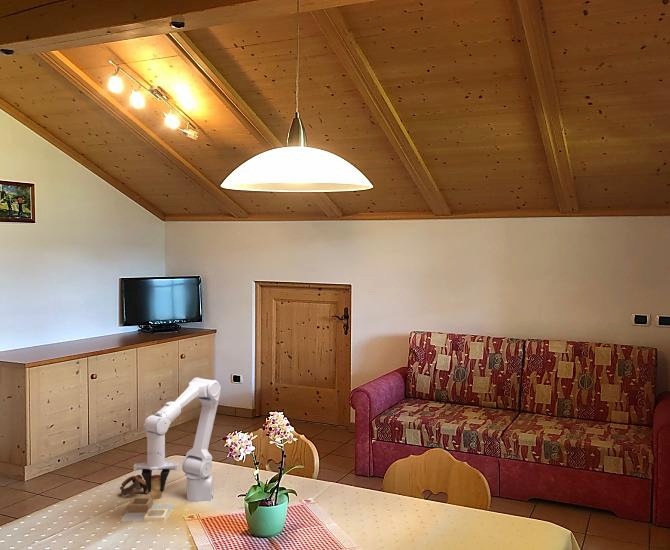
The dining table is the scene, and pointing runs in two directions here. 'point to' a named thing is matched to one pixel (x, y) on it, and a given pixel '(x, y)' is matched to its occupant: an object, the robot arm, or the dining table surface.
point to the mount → (146, 510)
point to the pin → (156, 487)
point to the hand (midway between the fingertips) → (156, 490)
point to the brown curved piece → (134, 485)
